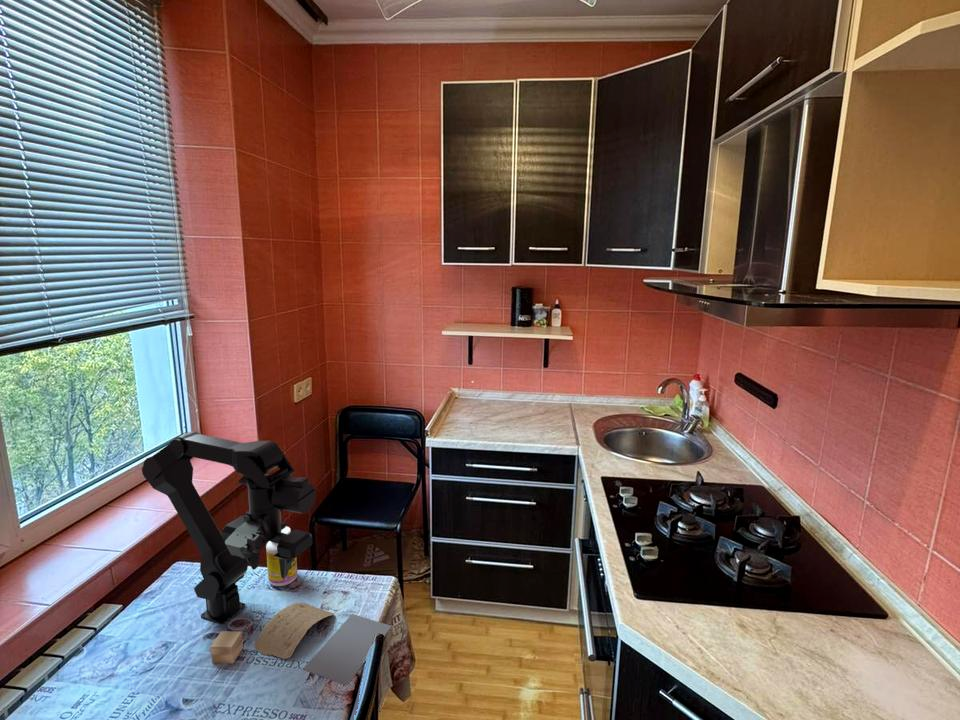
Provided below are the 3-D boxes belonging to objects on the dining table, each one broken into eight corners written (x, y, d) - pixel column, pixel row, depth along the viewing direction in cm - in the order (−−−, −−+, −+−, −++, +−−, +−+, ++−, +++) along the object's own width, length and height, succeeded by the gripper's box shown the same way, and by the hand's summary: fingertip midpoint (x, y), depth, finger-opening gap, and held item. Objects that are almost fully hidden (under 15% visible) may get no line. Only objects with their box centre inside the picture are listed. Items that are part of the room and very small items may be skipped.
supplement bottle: (283, 590, 115) (279, 541, 113) (262, 583, 118) (258, 534, 116) (303, 574, 122) (300, 527, 119) (283, 567, 124) (280, 521, 122)
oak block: (212, 664, 94) (210, 646, 94) (223, 648, 98) (221, 631, 97) (233, 665, 94) (231, 647, 94) (243, 648, 98) (241, 631, 97)
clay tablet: (289, 662, 95) (288, 650, 94) (250, 647, 98) (249, 635, 98) (337, 614, 108) (336, 603, 107) (301, 602, 111) (300, 592, 111)
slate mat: (302, 670, 93) (302, 669, 93) (352, 615, 108) (352, 613, 108) (347, 686, 90) (346, 685, 90) (391, 627, 104) (391, 625, 104)
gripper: (195, 513, 95) (202, 585, 98) (271, 533, 89) (277, 609, 92) (241, 489, 105) (246, 554, 108) (312, 506, 99) (315, 574, 102)
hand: (269, 572), depth 102 cm, fingers open, 7 cm apart
